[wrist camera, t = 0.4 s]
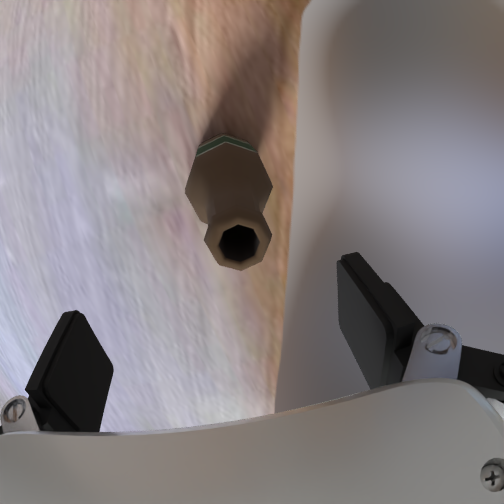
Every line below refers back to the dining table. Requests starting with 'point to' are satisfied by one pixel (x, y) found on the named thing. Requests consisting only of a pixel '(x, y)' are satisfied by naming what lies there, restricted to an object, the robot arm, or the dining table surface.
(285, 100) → the dining table surface
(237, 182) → the beer bottle
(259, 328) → the dining table surface
